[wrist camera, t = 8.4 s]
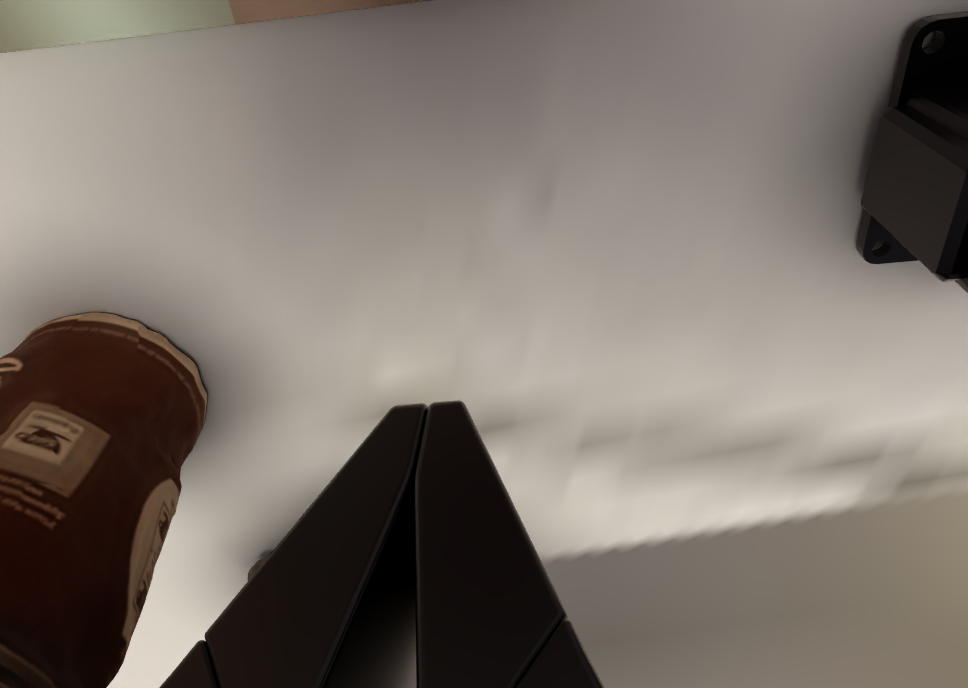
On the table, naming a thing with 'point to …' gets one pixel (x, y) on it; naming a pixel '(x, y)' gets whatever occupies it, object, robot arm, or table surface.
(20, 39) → the board
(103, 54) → the table surface
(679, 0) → the table surface
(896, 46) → the table surface
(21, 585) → the coffee cup
